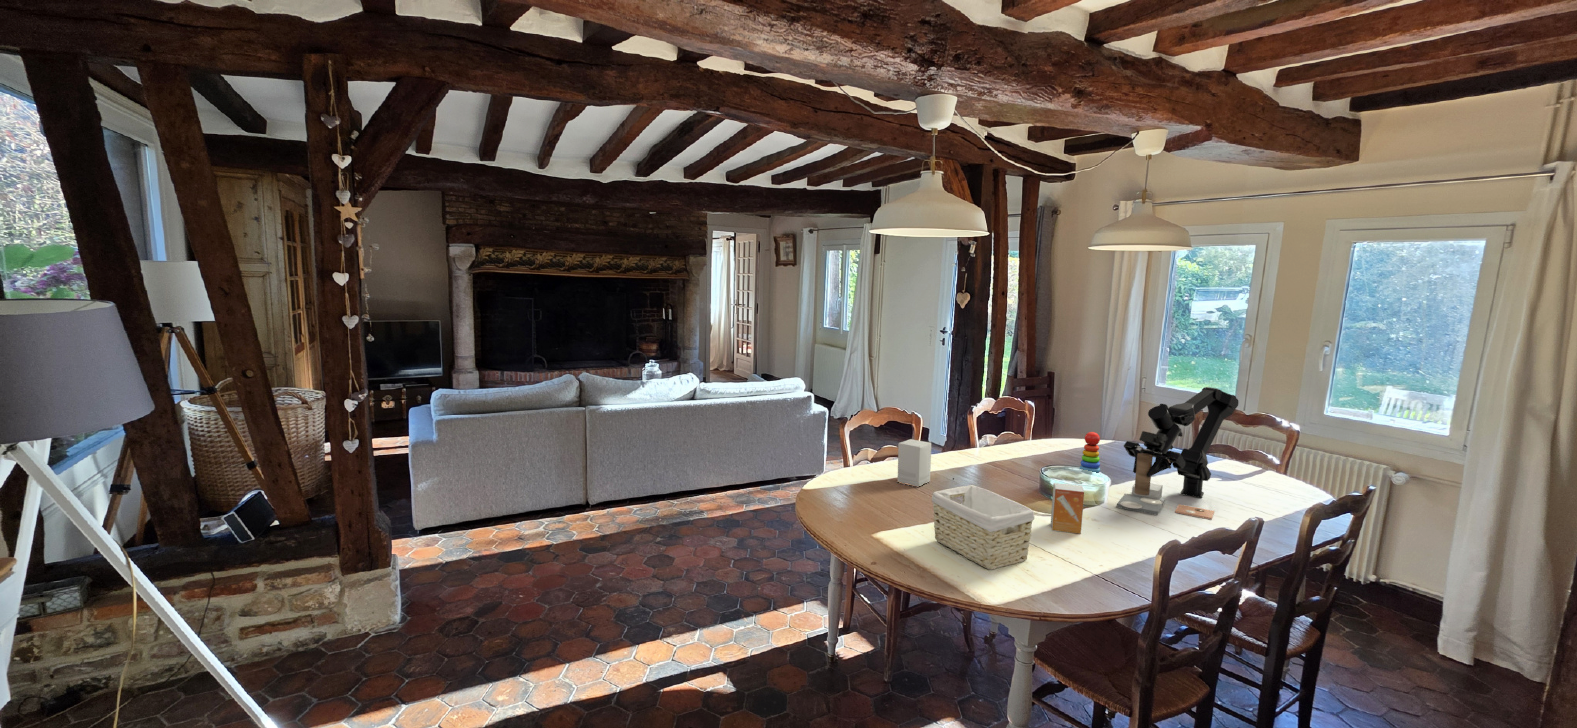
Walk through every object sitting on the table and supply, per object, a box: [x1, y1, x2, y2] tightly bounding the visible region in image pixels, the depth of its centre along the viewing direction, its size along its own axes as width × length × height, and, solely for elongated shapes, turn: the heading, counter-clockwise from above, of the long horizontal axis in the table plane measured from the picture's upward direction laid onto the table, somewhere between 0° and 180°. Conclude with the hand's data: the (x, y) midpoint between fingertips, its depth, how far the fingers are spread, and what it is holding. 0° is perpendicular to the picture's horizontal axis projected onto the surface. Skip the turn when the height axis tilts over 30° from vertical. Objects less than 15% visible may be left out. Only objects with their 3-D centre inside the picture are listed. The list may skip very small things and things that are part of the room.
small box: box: [1050, 482, 1085, 535], centre depth 198 cm, size 8×6×13 cm
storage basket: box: [931, 484, 1036, 570], centre depth 181 cm, size 24×16×15 cm
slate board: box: [1116, 493, 1165, 516], centre depth 219 cm, size 15×12×1 cm
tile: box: [1174, 503, 1215, 520], centre depth 214 cm, size 8×10×1 cm
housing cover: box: [1131, 482, 1163, 500], centre depth 228 cm, size 8×8×4 cm
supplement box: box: [897, 438, 932, 487], centre depth 241 cm, size 9×9×15 cm
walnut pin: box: [1134, 453, 1154, 495], centre depth 218 cm, size 4×4×13 cm
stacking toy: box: [1079, 431, 1101, 473], centre depth 244 cm, size 8×8×19 cm
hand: (1140, 474), depth 217 cm, fingers closed on walnut pin, 4 cm apart
